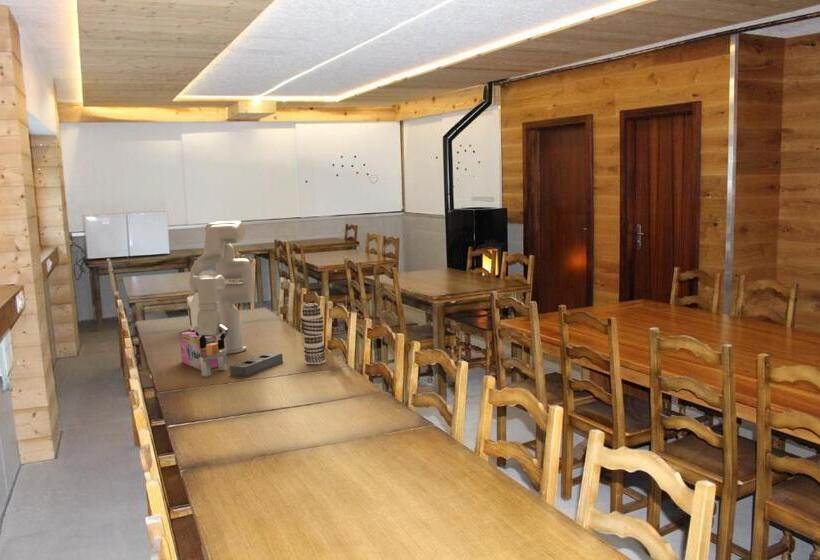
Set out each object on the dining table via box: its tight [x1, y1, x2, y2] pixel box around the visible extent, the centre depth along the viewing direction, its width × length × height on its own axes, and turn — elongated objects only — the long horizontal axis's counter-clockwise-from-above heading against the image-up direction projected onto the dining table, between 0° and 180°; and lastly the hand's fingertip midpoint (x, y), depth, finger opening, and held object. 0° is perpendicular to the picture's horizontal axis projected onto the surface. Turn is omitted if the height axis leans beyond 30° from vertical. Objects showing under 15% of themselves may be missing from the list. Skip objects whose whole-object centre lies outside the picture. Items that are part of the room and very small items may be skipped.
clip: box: [199, 343, 228, 377], centre depth 308 cm, size 3×14×12 cm, turn 152°
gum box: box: [178, 330, 219, 371], centre depth 324 cm, size 24×8×14 cm, turn 39°
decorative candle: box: [300, 302, 326, 365], centre depth 315 cm, size 9×9×25 cm
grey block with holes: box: [229, 351, 284, 378], centre depth 311 cm, size 8×24×4 cm, turn 152°
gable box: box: [186, 290, 199, 331], centre depth 399 cm, size 22×13×28 cm, turn 21°
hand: (212, 348), depth 307 cm, fingers open, 9 cm apart
